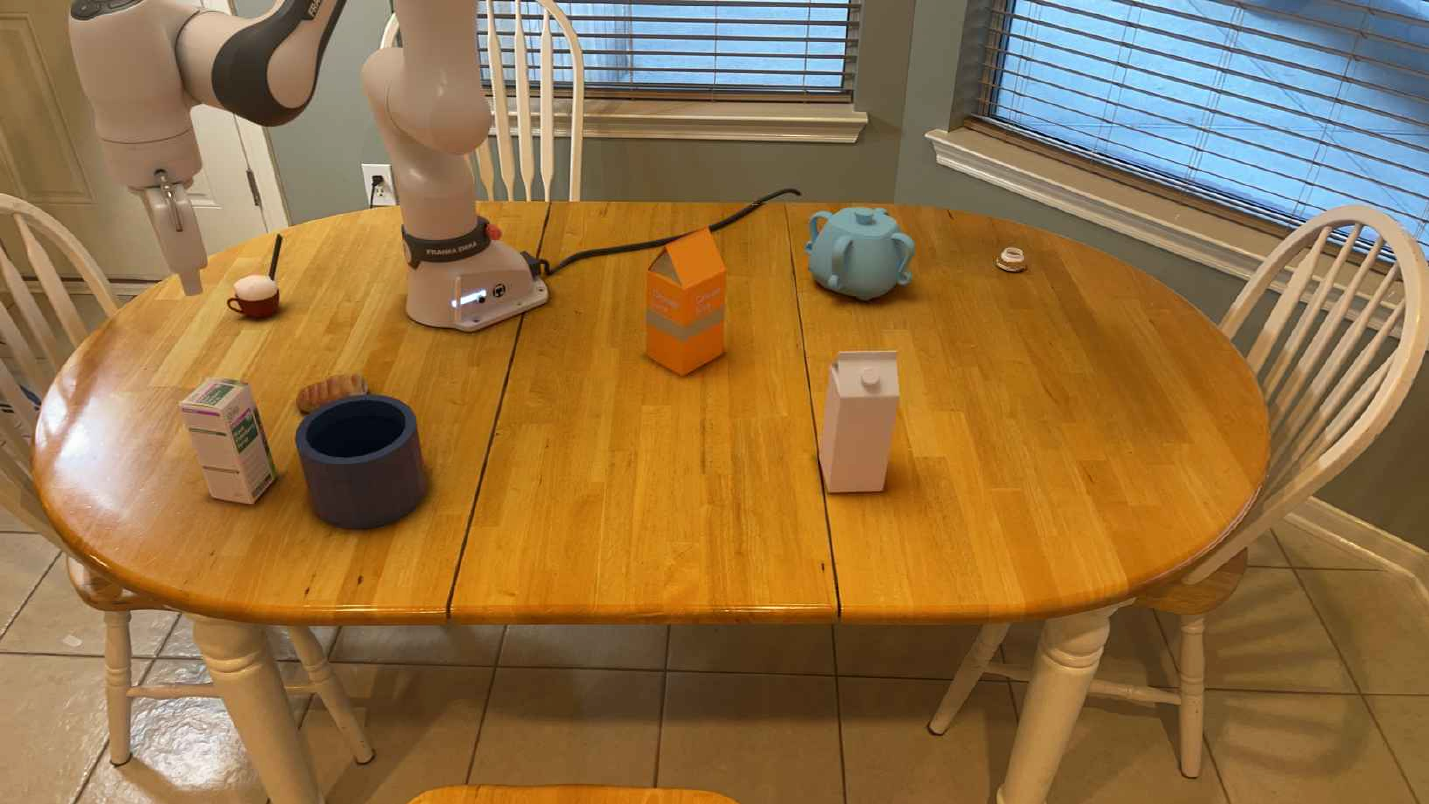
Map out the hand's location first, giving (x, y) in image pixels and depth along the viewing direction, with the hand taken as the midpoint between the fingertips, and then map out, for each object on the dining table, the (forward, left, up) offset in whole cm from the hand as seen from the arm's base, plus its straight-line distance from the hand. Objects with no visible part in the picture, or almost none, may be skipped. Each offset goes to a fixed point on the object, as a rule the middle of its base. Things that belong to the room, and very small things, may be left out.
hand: (186, 274), depth 113 cm
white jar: (-128, +9, -28) cm, 131 cm away
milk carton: (-66, +40, -28) cm, 82 cm away
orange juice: (-62, +5, -28) cm, 68 cm away
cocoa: (-11, -38, -28) cm, 48 cm away
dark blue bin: (-12, +13, -28) cm, 33 cm away
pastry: (-14, -8, -28) cm, 32 cm away
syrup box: (+1, +4, -28) cm, 28 cm away
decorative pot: (-99, 0, -28) cm, 103 cm away
